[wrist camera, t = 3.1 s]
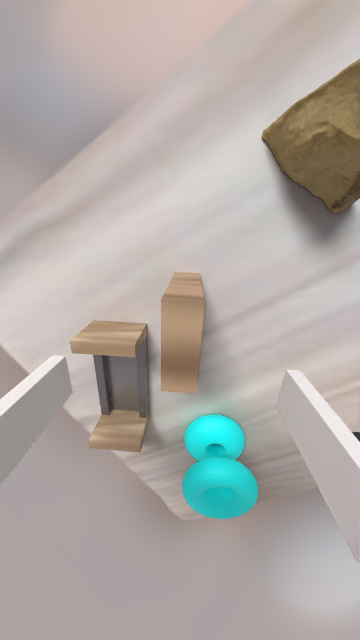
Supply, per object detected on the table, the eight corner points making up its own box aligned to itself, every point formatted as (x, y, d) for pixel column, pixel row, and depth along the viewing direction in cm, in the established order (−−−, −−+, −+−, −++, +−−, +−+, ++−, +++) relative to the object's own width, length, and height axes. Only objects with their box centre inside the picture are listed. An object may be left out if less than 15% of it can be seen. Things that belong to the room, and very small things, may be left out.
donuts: (245, 469, 23) (271, 515, 26) (230, 402, 32) (250, 443, 35) (168, 487, 25) (201, 528, 28) (175, 420, 34) (198, 457, 37)
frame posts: (94, 320, 28) (69, 340, 22) (146, 323, 28) (134, 344, 22) (106, 414, 35) (90, 447, 29) (148, 417, 34) (140, 452, 29)
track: (95, 330, 29) (90, 335, 27) (146, 334, 28) (144, 339, 27) (105, 407, 34) (101, 414, 33) (148, 410, 34) (146, 418, 32)
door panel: (174, 272, 25) (160, 298, 14) (200, 273, 25) (206, 301, 14) (172, 330, 28) (159, 390, 17) (195, 331, 28) (197, 393, 17)
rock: (404, 196, 19) (434, 39, 14) (414, 219, 14) (466, -15, 9) (280, 223, 26) (273, 124, 21) (256, 244, 21) (240, 120, 16)
